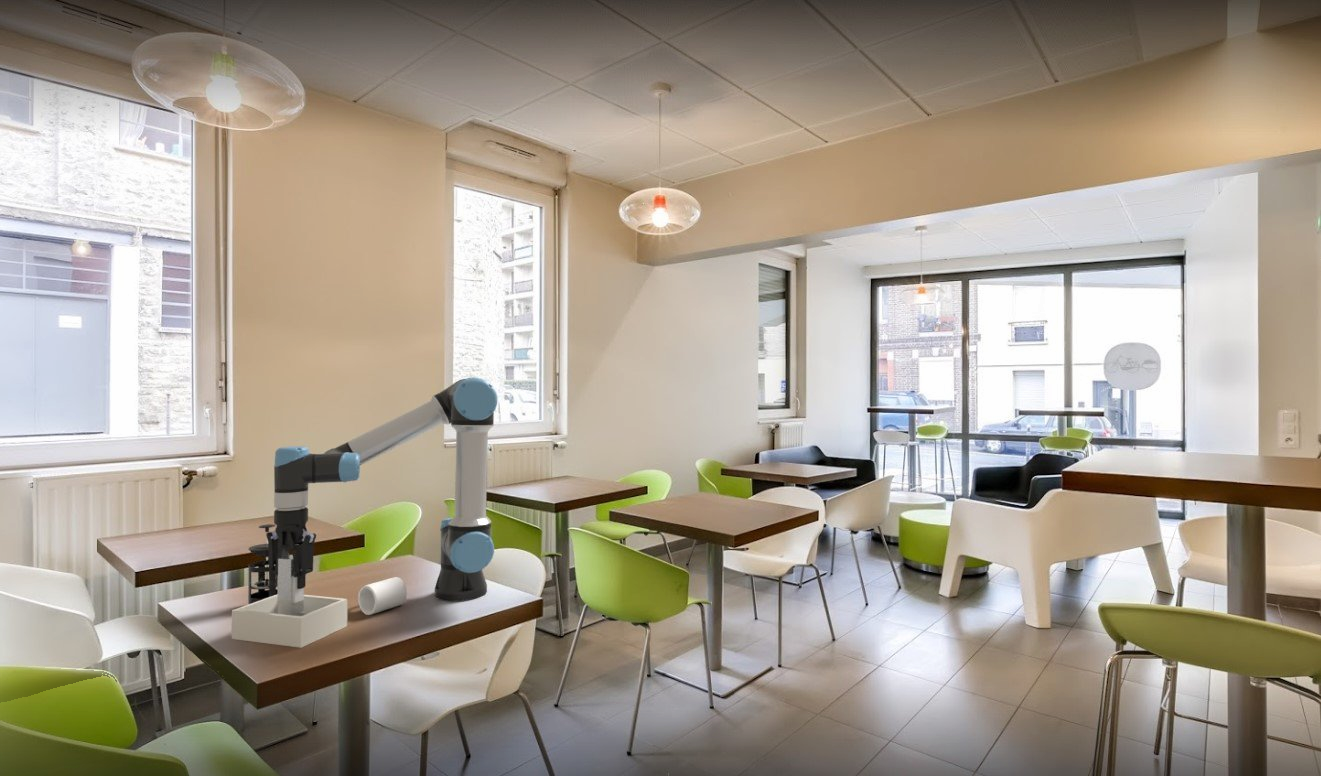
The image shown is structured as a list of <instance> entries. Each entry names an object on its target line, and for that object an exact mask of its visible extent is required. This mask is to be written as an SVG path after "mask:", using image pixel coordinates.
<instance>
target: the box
mask: <svg viewBox="0 0 1321 776" xmlns="http://www.w3.org/2000/svg"><path fill="white" fill-rule="evenodd" d="M277 595H278V594H277ZM277 595H274V596H271V597H268V598H266V599H263V600H260V601H257V602H254V603H251V604H249V605H248V604H246V605H244V606H241V607H237V608H235V609H232V610H231V639H232V640H238V641H244V642H245V641H246V642H252V643H253V642H254V643H262V644H269V645H277V646H283V647H284V646H285V647H292V648H300V649H301V648H303V647H306V646H308V645H310V644H311V643H314V642H317V641H318V640H320V639H323V638H325V637H327V636H329V635H331V634H334V633H335V632H337V631H340V630H342V629H344V628H346V627H348V599H347V598H341V597H332V596H320V595H311V594H304V600H303V611H302V612H299V613H297V614H294V615H284V614H278V601H277Z"/></svg>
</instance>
